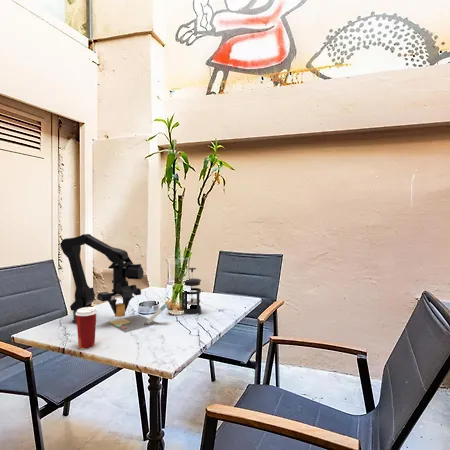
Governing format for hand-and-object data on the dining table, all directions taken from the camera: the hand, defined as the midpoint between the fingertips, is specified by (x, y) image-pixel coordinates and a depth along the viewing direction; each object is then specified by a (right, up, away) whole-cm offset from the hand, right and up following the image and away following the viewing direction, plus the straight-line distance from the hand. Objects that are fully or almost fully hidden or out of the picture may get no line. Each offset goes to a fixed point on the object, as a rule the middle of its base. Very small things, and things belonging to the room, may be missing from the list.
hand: (119, 312), depth 154 cm
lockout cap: (0, -1, 0) cm, 1 cm away
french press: (+31, -5, +18) cm, 36 cm away
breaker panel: (+6, -5, 0) cm, 8 cm away
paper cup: (-5, -7, -24) cm, 26 cm away
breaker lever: (+12, -5, 0) cm, 13 cm away
